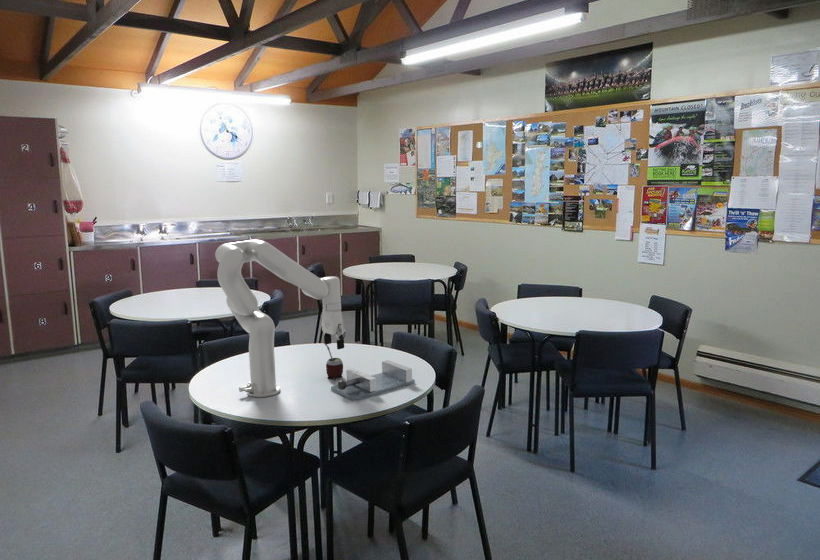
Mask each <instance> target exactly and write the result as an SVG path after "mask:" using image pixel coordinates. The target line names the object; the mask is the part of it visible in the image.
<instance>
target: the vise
mask: <svg viewBox="0 0 820 560" xmlns="http://www.w3.org/2000/svg"><path fill="white" fill-rule="evenodd" d="M371 376H372V377H375V378H376V390H375V391H372V392H369V391H367V390H365V389H363V388H360V387H358V386H356V385H352V386H349V387H346V388H345V389H344V390H340V389H339V388H338V386H337V384H335V385H331V386H330V391H332V392H334V393H336V394H338V395H340V396H342V397H344V398H346V399H348V400H350V401H353V402H357V401H360V400H364V399H367V398H371V397H374V396H376V395H377V394H378V395H381V394H383V393H384V394H385V393H388V392H390V391H394V390H397V388H398V389H400V387H401V388H404V387H407V386H406V385H408V386H410V385H409V384H411V385H413V384H412V383H414V384H415V383H416V380H415V379H414V378H413V369H412V368H410V367H408V366H405V365H402V364H399V363H397V362H395V361H391V360H389V359H386V360H382V361H381V372H380V373H376V374H372V375H371ZM403 386H404V387H403ZM387 391H388V392H387Z"/></svg>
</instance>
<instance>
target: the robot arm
mask: <svg viewBox="0 0 820 560" xmlns="http://www.w3.org/2000/svg"><path fill="white" fill-rule="evenodd" d="M214 257H215V260H216V261H217V262H218V267H217V275H216V276H217V281H218V284H219V286H220V288H221V289H222V291H223V292H224V294H225V296H226V304H227V307H228V308H229V310H230V312H231V313H232V314H233V316H234V318H235V319H236V320H237V322H238V324H239V325H240V326H241V328H242V329H243V330H244V331H245V332H246V333H248V335H249V340H248V358H249V372H250V373H249V374H250V381H248V382H247V384H246V385H243V386H239V387H238V392H240V393H241V392H242V393H243V392H245V393H246V394H247V395H248V396H249V397H253V398H267V397H272V396H275V395H277V394H279V393H280V391H281V386H279V385H278V384H277V382H276V381H277V380H276V379H277V378H276V362H275V359H276V358H275V334H276V333H275V331H276V329H275V328H276V327H275V323H274V320H273V319H272V317H270V316H269V315H268V314H266V313H264V312H262V311H261V310H260V308H259V302H258V298H257V297H256V295H255V293H253V292H252V290H251V289H250V287H249V285H248V284H247V283H246V281H245V279H244V277H243V274H242V268H243V265H244V263H250V262H256V263H257V264H259V265H261V266H262V267H263V268H265V270H268V271H270V273H272V274H274V275H275V276H276V277H278V278H279V279H282V281H284V282H287V283H289V284H291V285H293V286H296V287H298V288H299V289H301V292H302V293H303V294H304V295H305V296H307V297H310V298H312V299H315V300H322V312H321V323H320V326H321V330H322V332H323V333H322V334H323V342H324V343H325V344H326V345H327V346H328V345H330V344H332V336H335V337H336V349H337V350H341V349H344V348H345V339H346V338H345V337H346V334H347V330H346V329H345V327H344V319H343V314H342V301H341V300H342V298H341V281H340V278H339V277H338V276H333V275H332V276H331V275H330V276H324V277H319V276H317V275H316V274H314V273H313V272H311V271H310V270H309V269H307V268H305V267H303V266H302V265H300V264H299V263H298V262H297V261H295V260H293V259H292V258H291V257H289V256H288V255H286V254H285V253H284V252H282V251H281V250H279V249H278V248H277V247H275V246H274V245H272V244H271V243H270V242H267V241H265V240H261V239H248V240H243V241H235V242H227V243H223V244H221V245H219V246H218V247H217V249H216V250H215V254H214ZM324 343H323V344H324ZM325 344H324V345H325ZM326 345H325V346H326Z"/></svg>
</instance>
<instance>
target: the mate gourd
mask: <svg viewBox="0 0 820 560" xmlns="http://www.w3.org/2000/svg"><path fill="white" fill-rule="evenodd" d="M322 343H323V344H324V345H325V346H326V348H327V349H326V350H327V351H328V353H329V356H330V358H329V359H327V361H326V364H325V368H326V369H325V370H326V374H327V380H329V379H334V381H337V380H338V379H341V378H343V372H344V364H343V360H342V359H341V358H339V357H333V356H332V352H331V350H330V347H329V346H328V344H327V345H326V344H325V343H324V341H322Z"/></svg>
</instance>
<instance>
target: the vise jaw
mask: <svg viewBox="0 0 820 560" xmlns="http://www.w3.org/2000/svg"><path fill="white" fill-rule="evenodd" d="M336 385H337V386H338V388H339V389H340V390H344V389H345V388H346V387H349V386H352V385H356V386H358V387H360V388H363V389H365V390H367V391H369V392H372V391H375V390H376V378H375V377H372V375H370V374H367V373H364V372H362V371H360V370H358V369H355V368H349V369H346V380H339V381H338V382H337V384H336Z"/></svg>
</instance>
